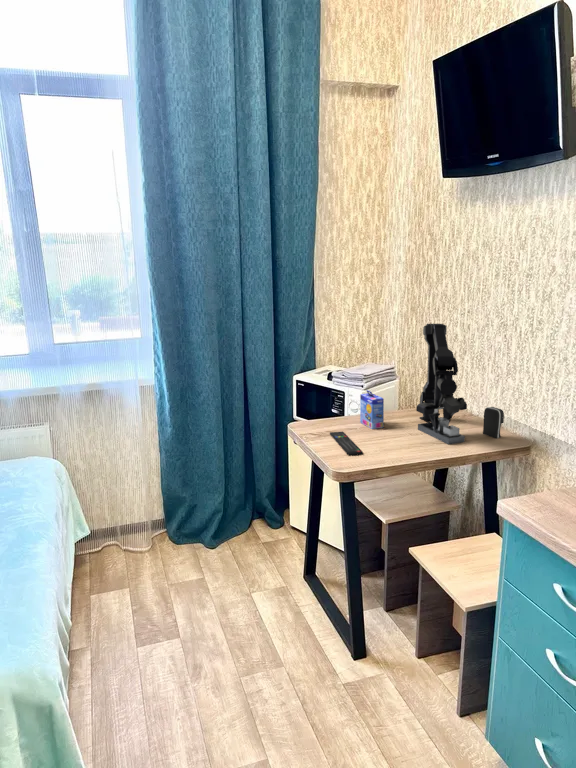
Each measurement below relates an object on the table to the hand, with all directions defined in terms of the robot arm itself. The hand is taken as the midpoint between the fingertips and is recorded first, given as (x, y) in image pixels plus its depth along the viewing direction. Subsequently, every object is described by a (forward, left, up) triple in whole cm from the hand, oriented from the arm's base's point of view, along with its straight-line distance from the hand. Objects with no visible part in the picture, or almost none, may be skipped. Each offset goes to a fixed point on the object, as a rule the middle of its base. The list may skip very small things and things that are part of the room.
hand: (440, 428), depth 214 cm
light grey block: (+6, 0, -3) cm, 7 cm away
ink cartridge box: (-23, -16, -4) cm, 29 cm away
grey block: (0, 0, -1) cm, 1 cm away
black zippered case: (+8, +18, -4) cm, 20 cm away
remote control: (-7, -36, -4) cm, 37 cm away
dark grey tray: (0, 0, -3) cm, 3 cm away
